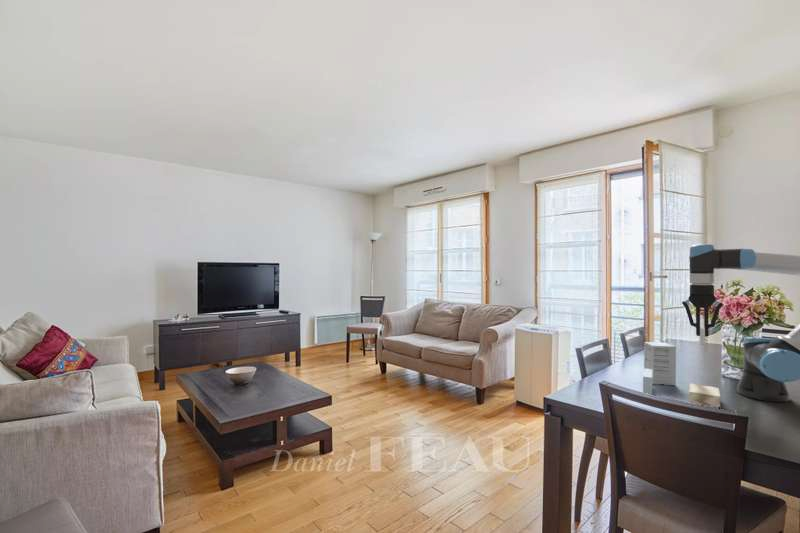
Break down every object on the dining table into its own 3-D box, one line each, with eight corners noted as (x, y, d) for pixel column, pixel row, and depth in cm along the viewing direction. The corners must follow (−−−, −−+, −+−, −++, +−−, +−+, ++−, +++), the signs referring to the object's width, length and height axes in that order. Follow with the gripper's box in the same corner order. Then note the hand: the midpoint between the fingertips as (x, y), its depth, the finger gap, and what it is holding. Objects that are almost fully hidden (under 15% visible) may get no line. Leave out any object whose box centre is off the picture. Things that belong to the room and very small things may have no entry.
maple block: (718, 400, 149) (718, 387, 149) (720, 410, 140) (720, 396, 140) (689, 395, 155) (689, 383, 155) (689, 404, 145) (689, 391, 145)
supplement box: (676, 385, 166) (676, 346, 166) (652, 384, 168) (652, 345, 168) (665, 379, 176) (666, 342, 175) (643, 378, 177) (643, 341, 177)
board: (652, 388, 163) (652, 369, 163) (652, 398, 151) (652, 377, 151) (644, 386, 165) (644, 368, 165) (643, 396, 153) (643, 376, 153)
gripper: (722, 284, 151) (723, 344, 151) (681, 283, 158) (681, 341, 158) (724, 285, 144) (725, 348, 145) (681, 284, 152) (681, 344, 152)
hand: (702, 344), depth 151 cm, fingers closed
